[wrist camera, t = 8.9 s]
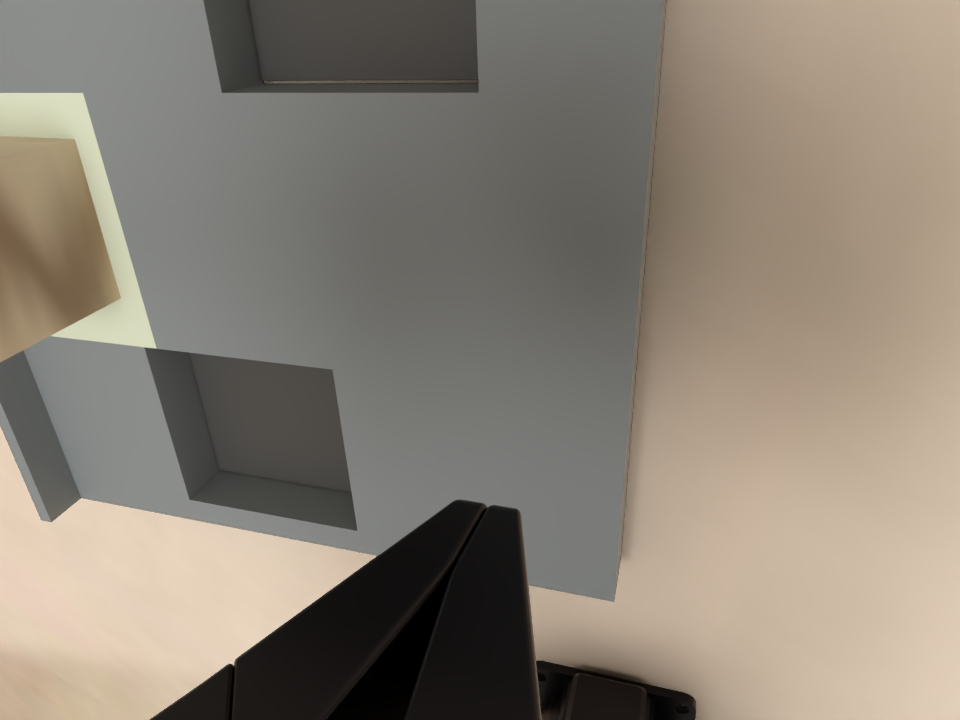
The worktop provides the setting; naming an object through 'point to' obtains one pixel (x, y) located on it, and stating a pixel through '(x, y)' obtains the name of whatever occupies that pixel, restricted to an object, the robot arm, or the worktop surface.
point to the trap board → (347, 264)
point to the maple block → (47, 243)
